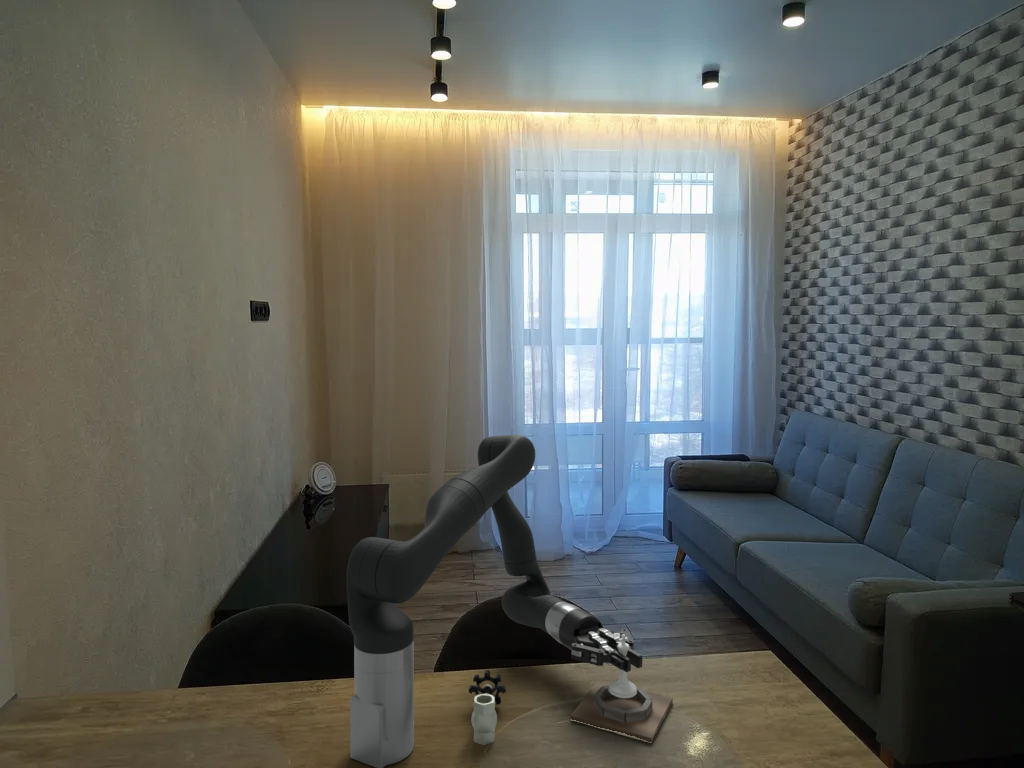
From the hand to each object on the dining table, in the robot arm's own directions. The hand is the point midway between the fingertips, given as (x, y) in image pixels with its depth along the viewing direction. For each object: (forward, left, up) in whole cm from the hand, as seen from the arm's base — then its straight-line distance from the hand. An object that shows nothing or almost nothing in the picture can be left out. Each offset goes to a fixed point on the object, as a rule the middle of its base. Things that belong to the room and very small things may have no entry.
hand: (634, 664), depth 109 cm
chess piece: (+2, +3, -6) cm, 7 cm away
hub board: (+1, +2, -10) cm, 10 cm away
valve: (-13, +22, -10) cm, 27 cm away
